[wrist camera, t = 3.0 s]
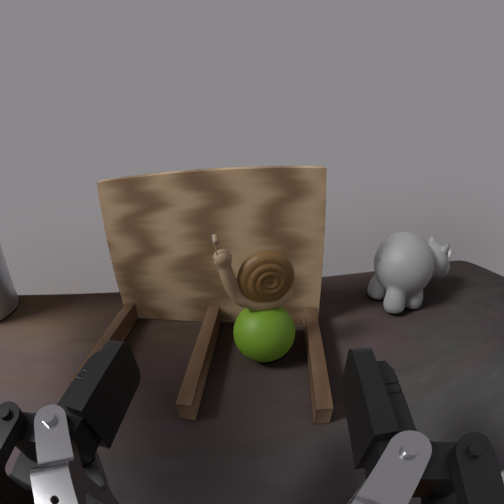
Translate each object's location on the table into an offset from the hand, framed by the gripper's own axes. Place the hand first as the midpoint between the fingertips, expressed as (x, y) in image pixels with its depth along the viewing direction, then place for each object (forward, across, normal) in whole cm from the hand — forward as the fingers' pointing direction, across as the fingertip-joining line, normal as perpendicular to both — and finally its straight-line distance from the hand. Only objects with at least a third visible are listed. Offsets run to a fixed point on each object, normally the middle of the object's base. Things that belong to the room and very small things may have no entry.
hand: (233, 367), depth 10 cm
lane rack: (+12, +5, +11) cm, 17 cm away
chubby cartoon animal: (+22, -19, +12) cm, 31 cm away
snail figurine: (+13, 0, +12) cm, 17 cm away
